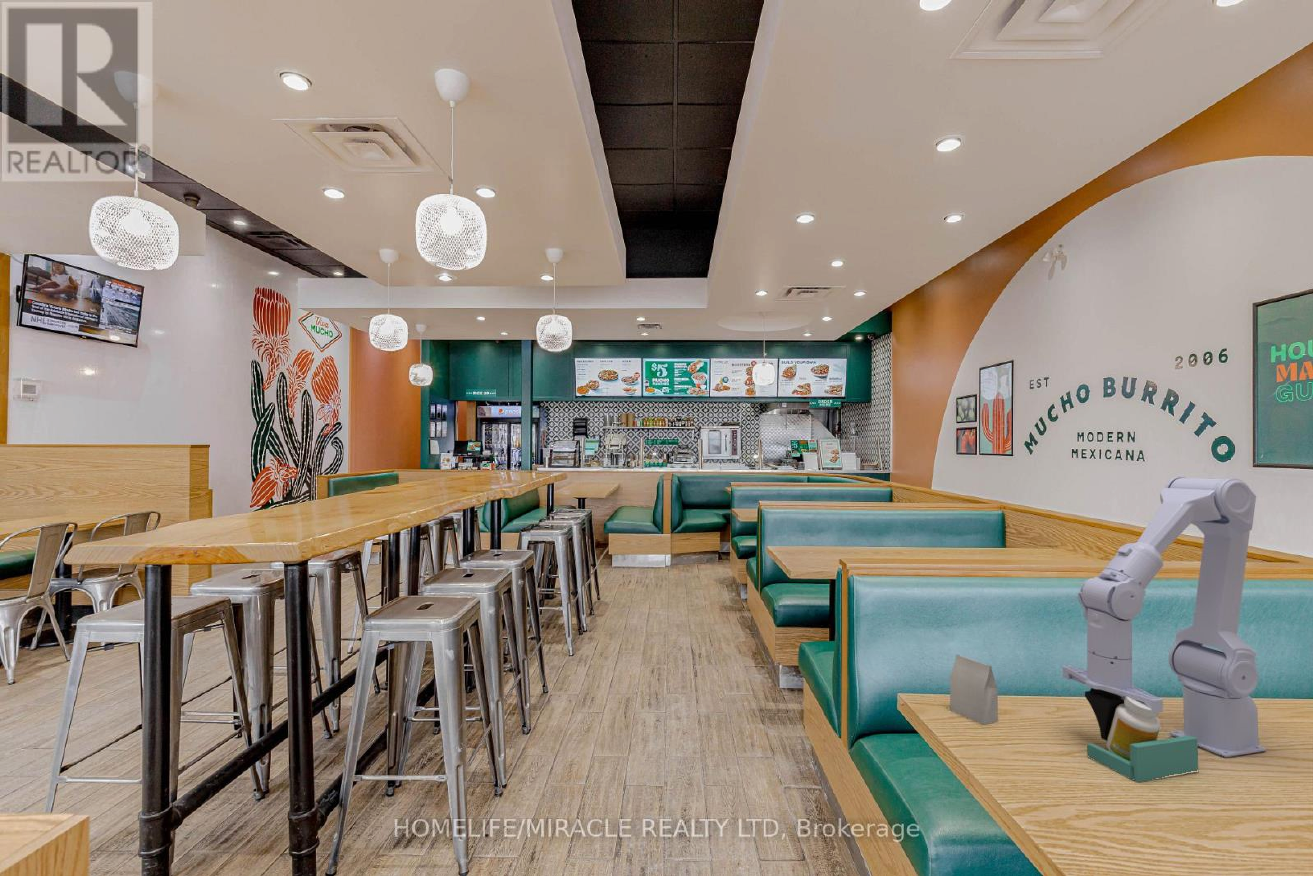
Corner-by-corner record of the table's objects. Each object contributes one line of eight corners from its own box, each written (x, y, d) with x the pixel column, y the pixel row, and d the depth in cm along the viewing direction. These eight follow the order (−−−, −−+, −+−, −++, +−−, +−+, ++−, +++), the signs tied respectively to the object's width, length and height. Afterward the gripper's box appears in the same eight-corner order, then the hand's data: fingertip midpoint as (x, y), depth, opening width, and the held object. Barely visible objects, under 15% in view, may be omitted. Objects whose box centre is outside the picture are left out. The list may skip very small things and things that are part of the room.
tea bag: (984, 725, 101) (983, 667, 102) (950, 710, 107) (949, 655, 108) (997, 721, 103) (997, 665, 103) (963, 706, 109) (963, 653, 109)
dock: (1144, 748, 94) (1144, 717, 94) (1198, 772, 86) (1197, 738, 87) (1087, 756, 91) (1086, 724, 91) (1137, 782, 83) (1137, 747, 83)
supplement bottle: (1156, 772, 87) (1172, 717, 84) (1113, 761, 89) (1128, 707, 86) (1140, 747, 92) (1155, 694, 89) (1100, 737, 93) (1114, 685, 91)
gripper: (1048, 641, 99) (1048, 721, 99) (1137, 671, 85) (1137, 765, 85) (1080, 639, 101) (1080, 718, 101) (1173, 669, 87) (1173, 760, 86)
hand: (1109, 739), depth 93 cm, fingers closed, pressing on supplement bottle
